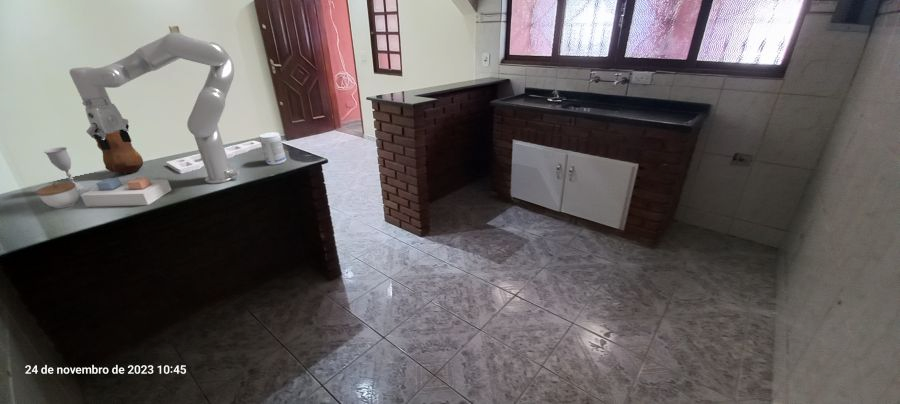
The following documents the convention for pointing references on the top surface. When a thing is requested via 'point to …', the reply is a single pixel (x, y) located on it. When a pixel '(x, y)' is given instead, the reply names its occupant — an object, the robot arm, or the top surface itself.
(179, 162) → the holder
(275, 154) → the supplement tub
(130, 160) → the butternut squash
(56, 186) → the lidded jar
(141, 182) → the terracotta key
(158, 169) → the top surface
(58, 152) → the chalice
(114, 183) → the slate-blue key
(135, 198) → the key panel
